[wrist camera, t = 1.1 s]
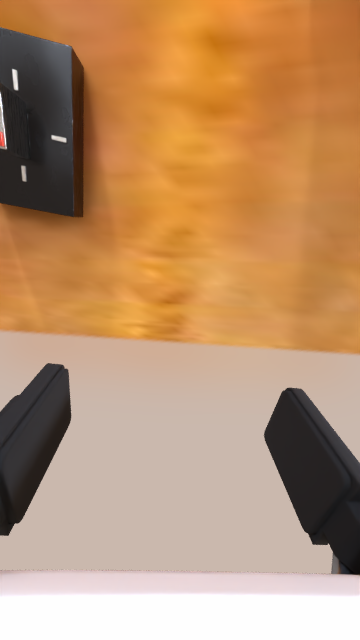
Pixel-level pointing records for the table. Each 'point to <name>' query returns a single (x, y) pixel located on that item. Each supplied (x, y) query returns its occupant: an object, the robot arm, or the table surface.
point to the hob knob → (13, 124)
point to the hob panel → (44, 125)
